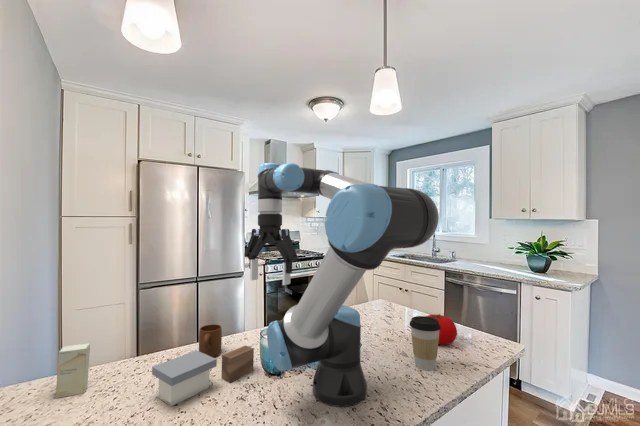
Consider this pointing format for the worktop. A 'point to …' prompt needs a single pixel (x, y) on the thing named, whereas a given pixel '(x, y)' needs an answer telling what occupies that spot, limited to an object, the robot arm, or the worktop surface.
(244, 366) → the block
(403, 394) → the worktop surface
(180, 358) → the tile lid
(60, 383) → the skincare box
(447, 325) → the tomato
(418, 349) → the coffee cup
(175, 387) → the white open box
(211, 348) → the mug
